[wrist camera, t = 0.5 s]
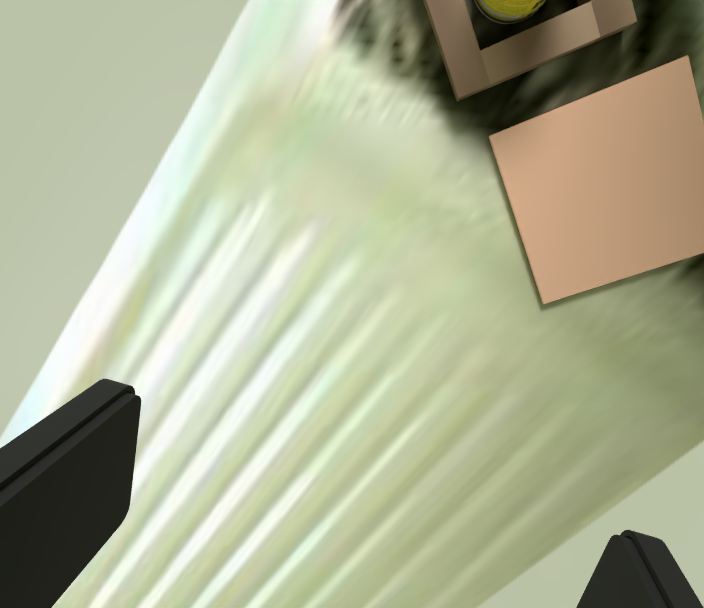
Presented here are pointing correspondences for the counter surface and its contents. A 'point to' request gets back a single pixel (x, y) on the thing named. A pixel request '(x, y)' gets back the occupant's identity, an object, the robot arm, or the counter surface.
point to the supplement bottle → (508, 9)
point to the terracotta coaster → (608, 182)
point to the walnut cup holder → (518, 41)
